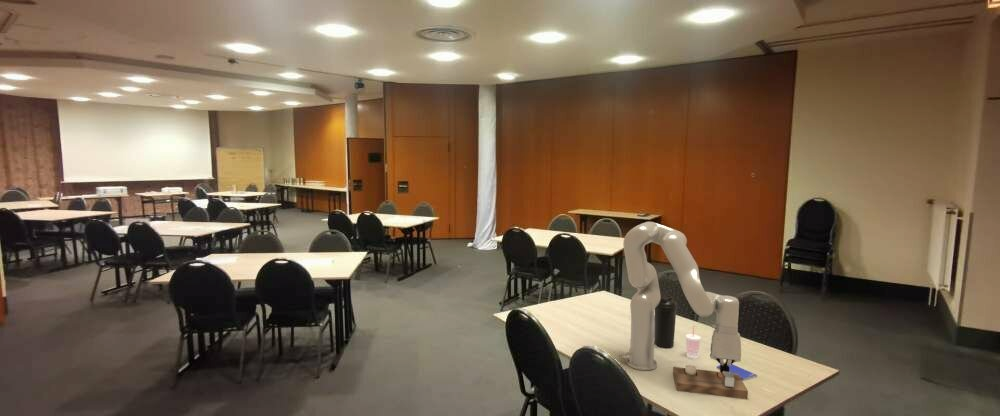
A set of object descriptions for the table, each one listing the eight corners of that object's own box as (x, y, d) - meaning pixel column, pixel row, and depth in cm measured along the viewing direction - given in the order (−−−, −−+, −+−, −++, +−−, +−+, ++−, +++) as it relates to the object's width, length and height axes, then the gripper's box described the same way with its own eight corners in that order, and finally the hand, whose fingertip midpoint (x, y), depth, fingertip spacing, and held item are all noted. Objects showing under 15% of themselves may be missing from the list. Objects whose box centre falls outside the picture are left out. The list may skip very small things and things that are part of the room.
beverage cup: (702, 358, 201) (704, 327, 200) (691, 360, 199) (693, 328, 198) (692, 352, 207) (694, 322, 205) (681, 354, 205) (683, 324, 203)
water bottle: (679, 344, 216) (681, 296, 213) (670, 351, 208) (672, 301, 206) (658, 338, 222) (659, 292, 220) (648, 345, 215) (650, 297, 213)
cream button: (685, 376, 180) (686, 369, 179) (684, 371, 184) (684, 364, 183) (696, 377, 179) (697, 370, 178) (695, 373, 183) (695, 365, 182)
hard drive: (757, 374, 184) (729, 362, 195) (743, 378, 180) (716, 366, 191) (757, 378, 184) (729, 366, 195) (743, 382, 180) (716, 369, 191)
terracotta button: (718, 383, 177) (719, 376, 176) (716, 378, 181) (717, 371, 180) (730, 384, 176) (730, 377, 175) (727, 379, 180) (728, 372, 179)
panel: (677, 390, 173) (677, 382, 172) (673, 373, 186) (673, 366, 186) (747, 399, 167) (748, 391, 166) (738, 381, 180) (738, 373, 180)
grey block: (724, 386, 169) (725, 377, 169) (722, 379, 174) (722, 371, 174) (733, 387, 168) (734, 378, 168) (730, 380, 173) (731, 372, 173)
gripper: (707, 330, 174) (705, 376, 176) (750, 334, 170) (748, 381, 172) (703, 323, 181) (701, 368, 183) (745, 326, 178) (743, 372, 180)
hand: (724, 374), depth 178 cm, fingers closed
